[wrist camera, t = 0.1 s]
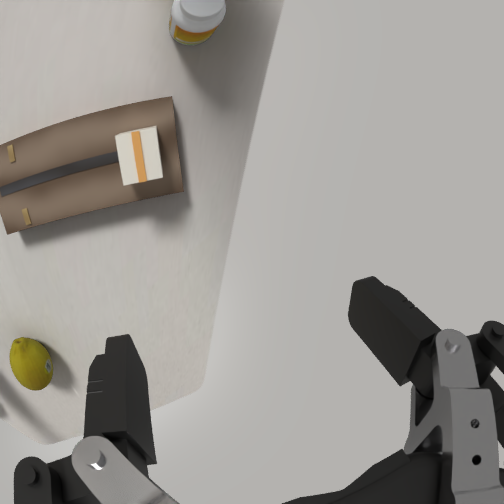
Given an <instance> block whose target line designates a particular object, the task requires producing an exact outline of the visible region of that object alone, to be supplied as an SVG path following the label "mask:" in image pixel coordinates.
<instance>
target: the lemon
mask: <svg viewBox="0 0 504 504" xmlns="http://www.w3.org/2000/svg"><path fill="white" fill-rule="evenodd" d="M10 365H11V368H12V371H13V373H14V375H15V377H16V378H17V380H18V381H19V382H20V383H21V384H22V385H23V386H24V387H26V388H28V389H30V390H41V389H43V388H45V387H46V386H47V385H48V384H49V383H50V381H51V379H52V375H53V364H52V360H51V357H50V355H49V353H48V352H47V350H46V349H45V347H43V346H42V345H41V344H40V343H39V342H37V341H35V340H33V339H30V338H24V337H21V338H18V339H15V340H14V341H13V343H12V347H11V350H10Z"/></svg>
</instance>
